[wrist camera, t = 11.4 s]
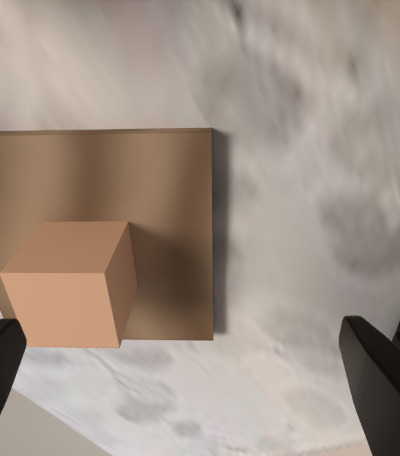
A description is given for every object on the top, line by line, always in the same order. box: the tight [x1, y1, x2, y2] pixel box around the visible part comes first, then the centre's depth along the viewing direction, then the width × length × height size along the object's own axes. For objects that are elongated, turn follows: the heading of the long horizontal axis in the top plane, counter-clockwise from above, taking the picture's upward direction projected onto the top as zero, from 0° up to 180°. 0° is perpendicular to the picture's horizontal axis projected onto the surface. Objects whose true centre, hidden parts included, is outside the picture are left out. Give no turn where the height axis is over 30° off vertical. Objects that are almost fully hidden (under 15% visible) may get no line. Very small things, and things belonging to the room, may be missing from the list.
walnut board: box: [0, 128, 213, 341], centre depth 22 cm, size 15×15×1 cm
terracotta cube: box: [0, 221, 138, 348], centre depth 19 cm, size 5×5×5 cm
